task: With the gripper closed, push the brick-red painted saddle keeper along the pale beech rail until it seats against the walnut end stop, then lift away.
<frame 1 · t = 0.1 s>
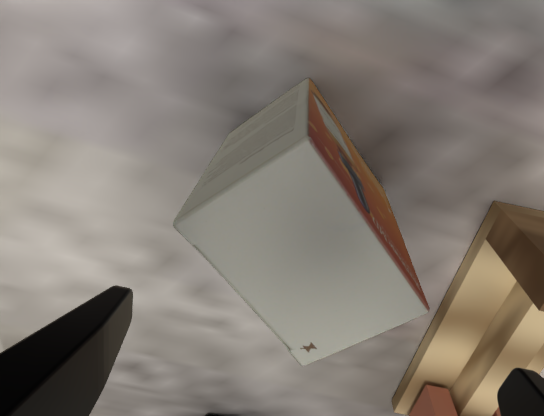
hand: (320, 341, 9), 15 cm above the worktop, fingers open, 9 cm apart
rail: (491, 327, 27), on the worktop
small box: (306, 160, 23), on the worktop
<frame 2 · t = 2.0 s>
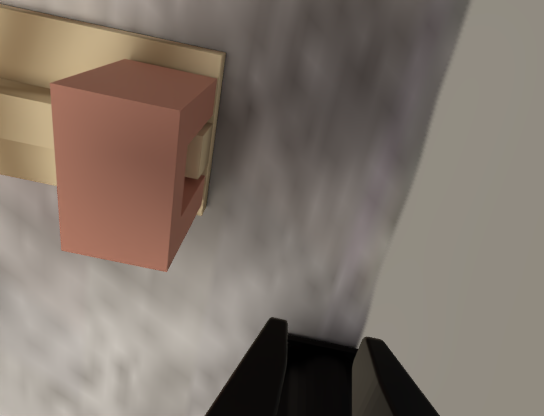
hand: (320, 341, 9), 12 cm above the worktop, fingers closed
keeper: (144, 158, 16), point 4 cm above the worktop, slide at 0.0 cm
rail: (34, 99, 20), on the worktop
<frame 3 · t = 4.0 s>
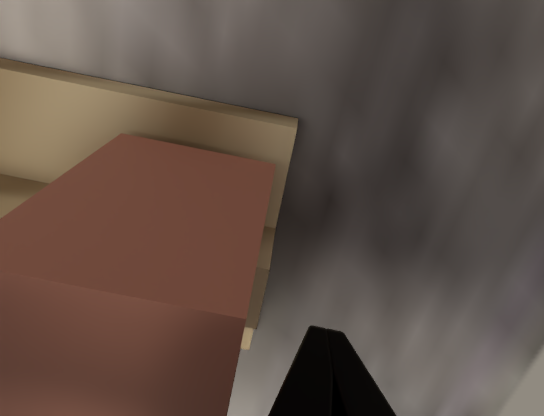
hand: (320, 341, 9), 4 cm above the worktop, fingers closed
keeper: (156, 315, 9), point 4 cm above the worktop, slide at 0.4 cm, touching gripper
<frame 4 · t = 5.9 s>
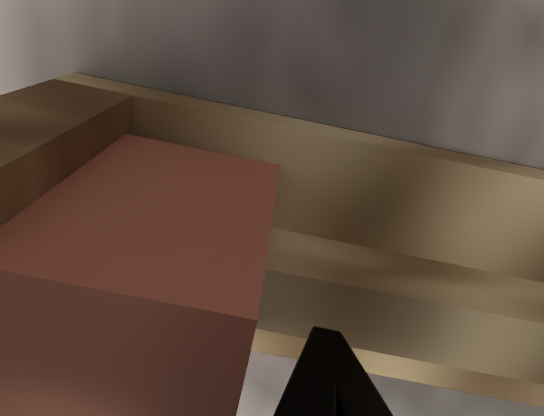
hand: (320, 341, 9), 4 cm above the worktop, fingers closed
keeper: (161, 316, 9), point 4 cm above the worktop, slide at 12.0 cm, touching gripper, rail
rail: (354, 255, 13), on the worktop
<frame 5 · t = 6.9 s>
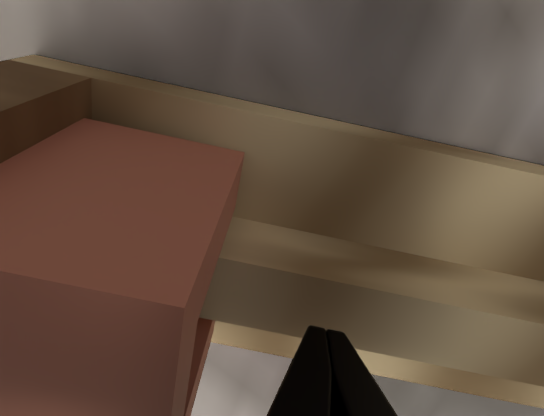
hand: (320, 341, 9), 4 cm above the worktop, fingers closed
keeper: (115, 307, 9), point 4 cm above the worktop, slide at 12.0 cm, touching rail
rail: (327, 247, 13), on the worktop
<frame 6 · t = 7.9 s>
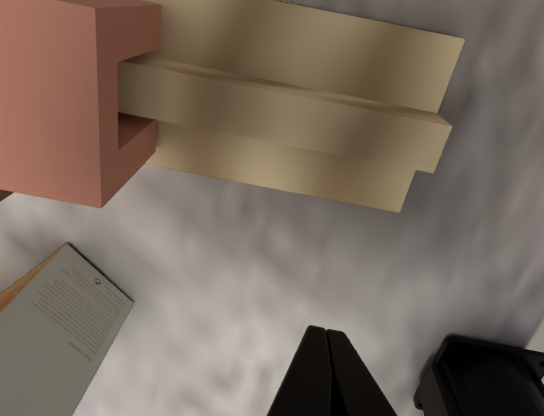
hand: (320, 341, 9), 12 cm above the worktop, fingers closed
keeper: (79, 88, 15), point 4 cm above the worktop, slide at 12.0 cm, touching rail
rail: (232, 91, 18), on the worktop
small box: (64, 298, 25), on the worktop
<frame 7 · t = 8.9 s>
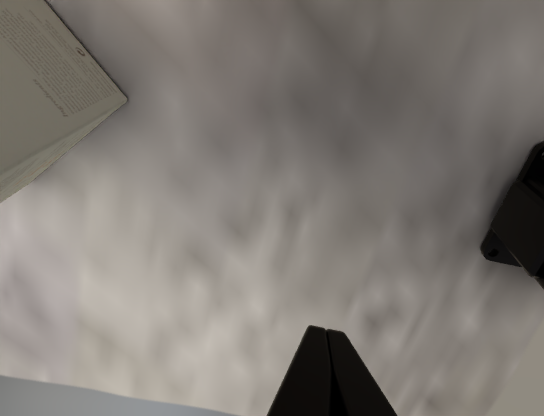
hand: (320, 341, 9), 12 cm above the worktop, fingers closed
small box: (39, 98, 20), on the worktop
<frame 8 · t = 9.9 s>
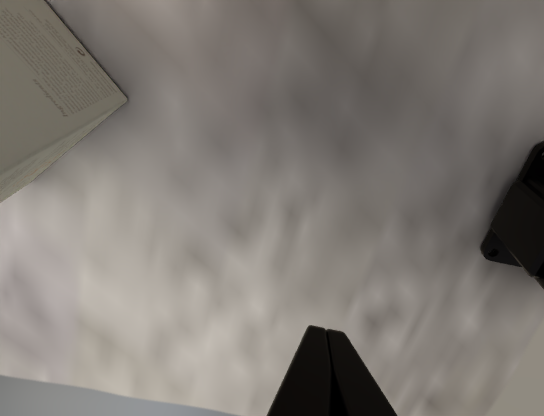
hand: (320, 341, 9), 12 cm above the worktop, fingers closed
small box: (39, 98, 20), on the worktop
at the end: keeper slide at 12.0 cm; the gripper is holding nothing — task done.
